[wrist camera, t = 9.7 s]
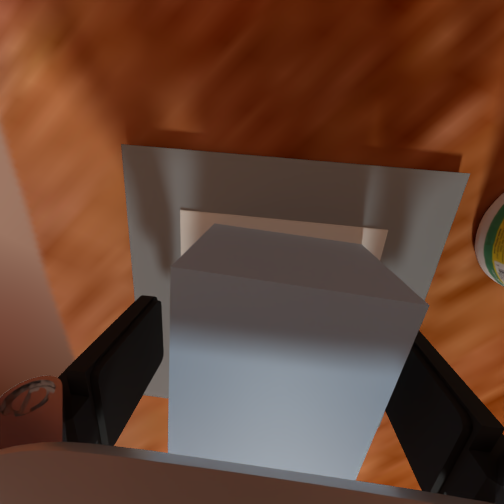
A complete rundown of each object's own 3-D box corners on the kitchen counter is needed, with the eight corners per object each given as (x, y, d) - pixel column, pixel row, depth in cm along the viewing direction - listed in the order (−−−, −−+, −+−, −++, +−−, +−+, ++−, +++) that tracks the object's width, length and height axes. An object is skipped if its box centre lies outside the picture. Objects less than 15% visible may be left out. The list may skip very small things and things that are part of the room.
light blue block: (361, 244, 11) (429, 305, 6) (321, 383, 14) (347, 499, 9) (214, 223, 11) (170, 266, 6) (204, 364, 14) (167, 467, 9)
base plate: (459, 173, 10) (471, 173, 10) (375, 417, 15) (379, 428, 14) (129, 145, 11) (119, 144, 10) (148, 386, 16) (142, 396, 15)
